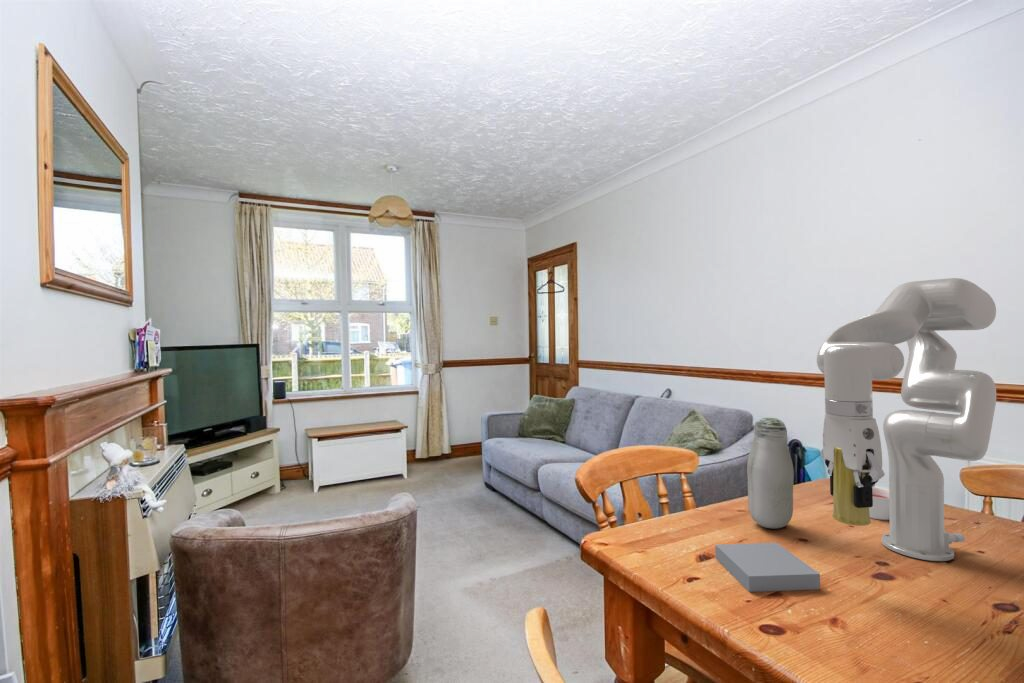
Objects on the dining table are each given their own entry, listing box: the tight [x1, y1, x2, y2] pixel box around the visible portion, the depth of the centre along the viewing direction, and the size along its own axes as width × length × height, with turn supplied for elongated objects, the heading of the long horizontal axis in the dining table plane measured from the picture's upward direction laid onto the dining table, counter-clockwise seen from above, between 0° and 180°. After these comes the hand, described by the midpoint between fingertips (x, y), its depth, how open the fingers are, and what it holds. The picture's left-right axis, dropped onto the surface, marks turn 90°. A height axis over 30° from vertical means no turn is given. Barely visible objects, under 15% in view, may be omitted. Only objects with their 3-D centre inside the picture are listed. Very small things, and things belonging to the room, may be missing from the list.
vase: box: [832, 447, 872, 527], centre depth 92 cm, size 6×6×14 cm
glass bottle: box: [746, 417, 795, 529], centre depth 122 cm, size 10×10×28 cm
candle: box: [869, 487, 890, 521], centre depth 128 cm, size 9×9×6 cm
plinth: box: [714, 542, 821, 593], centre depth 98 cm, size 14×14×3 cm
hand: (850, 500), depth 92 cm, fingers closed on vase, 5 cm apart
